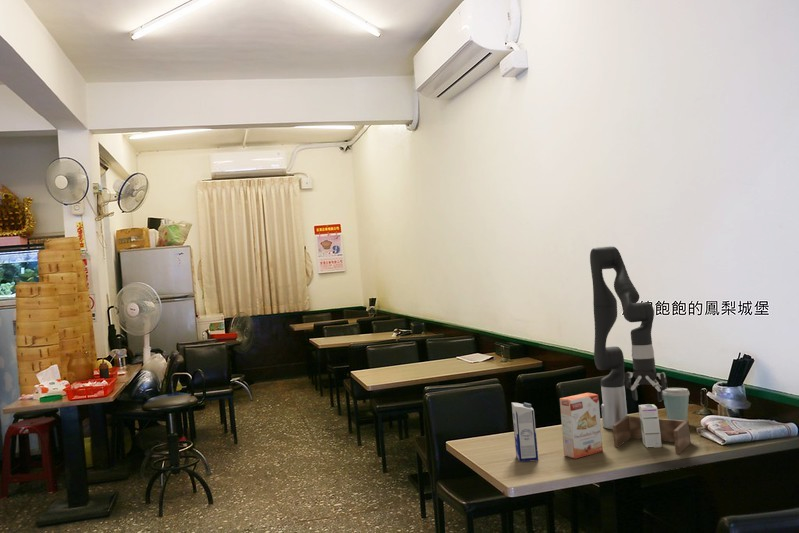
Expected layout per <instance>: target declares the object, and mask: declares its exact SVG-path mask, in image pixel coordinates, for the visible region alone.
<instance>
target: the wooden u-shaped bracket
mask: <svg viewBox="0 0 799 533" xmlns="http://www.w3.org/2000/svg"><path fill="white" fill-rule="evenodd" d="M659 426H660V434H661V442H671V443H674V448H675V451H674V452H675V455H680V454H682V452H684V451H685V449H686V448H687V447H688V446H689V445H690V444H691V432H690V422H689V420H687V421H684V420H671V419H668V418H659ZM612 433H613V443H614V448H619V447H621V444H622V443H623V442H624V443H626V442H627V441H628V440H630V439H639V438H642V432H641V422H640V416H632V415H631V416H629V415H627V416H626V417H624V418H623V419H621V420H620V421H618V422H617V423H615V424H614V425H613V429H612ZM630 437H632V438H630ZM629 438H630V439H629ZM626 440H627V441H626ZM625 441H626V442H625ZM624 443H623V444H624ZM623 444H622V445H623ZM618 446H619V447H618Z"/></svg>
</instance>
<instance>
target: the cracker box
mask: <svg viewBox="0 0 799 533" xmlns="http://www.w3.org/2000/svg"><path fill="white" fill-rule="evenodd" d="M559 406H560V407H559V408H560V420H561V431H562V444H563V455H564V456H565V457H569V458H572V459H575V460H576V459H579V458H582V457H586V455H587V456H590V455H593V454H594V455H595V454H597V452H598V453H601V451H602V452H603V451H604V448H603V438H602V437H603V435H602V422H601V413H600V412H601V411H600V410H601V409H600V399H599V394H596V393H592V392H584V393H579V394H575V395H570V396H566V397H560V398H559Z"/></svg>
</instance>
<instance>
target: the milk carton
mask: <svg viewBox="0 0 799 533" xmlns="http://www.w3.org/2000/svg"><path fill="white" fill-rule="evenodd" d="M511 412H512V422H513V423H512V424H513V432H514V434H513V435H514V443H515V444H514V446H515V454H516V458H517V460H518V459H519V460H518V461H524V462H531V461H530V460H537V461H539V452H538V441H537V431H536V419H535V418H536V417H535V410H534V408H533V407H532V403H528V402H523V403H519V402H511Z"/></svg>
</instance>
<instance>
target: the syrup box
mask: <svg viewBox="0 0 799 533" xmlns="http://www.w3.org/2000/svg"><path fill="white" fill-rule="evenodd" d="M638 413H639V417H640V422H641V432H642V439H641V440H642V444H643V446H644V447H645V448H648V447H654V448H663V447H662V444H663V443H662V441H661V434H660V426H659V419H660V418H659V412H658V407H657V406H656V405H655V404H650V403H647V404H638Z"/></svg>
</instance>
